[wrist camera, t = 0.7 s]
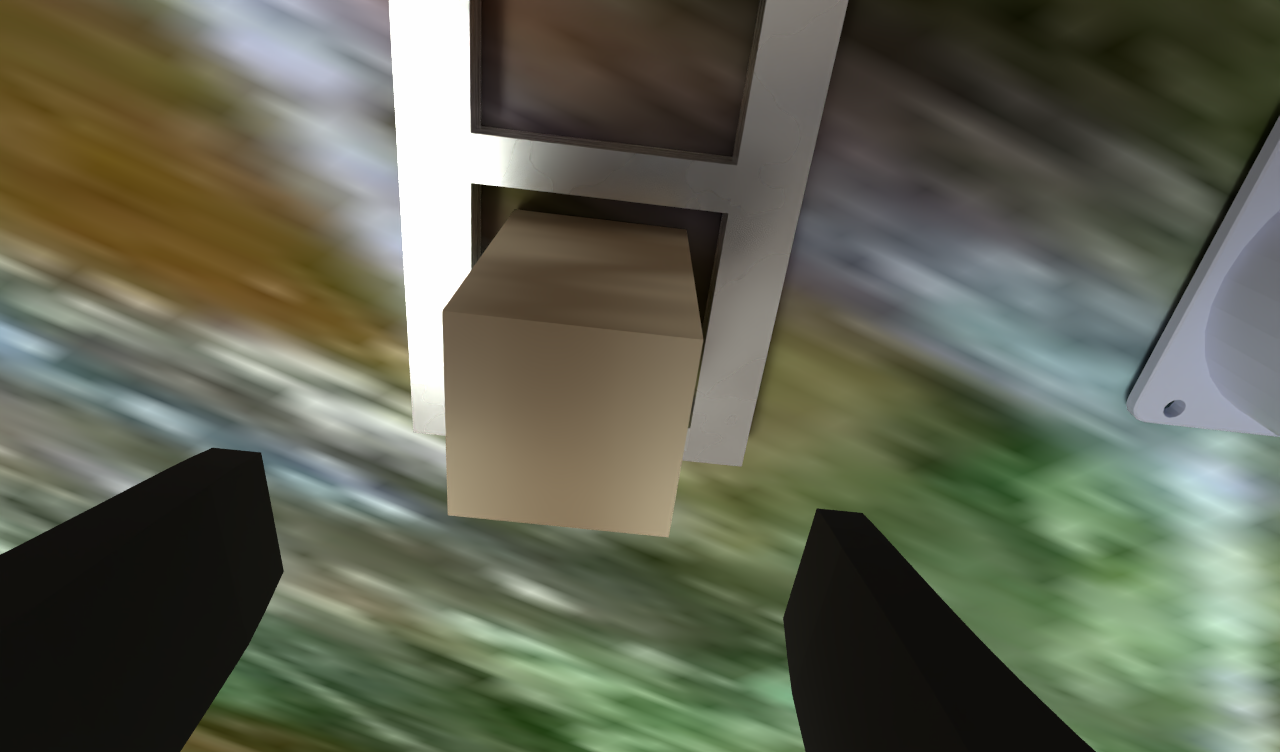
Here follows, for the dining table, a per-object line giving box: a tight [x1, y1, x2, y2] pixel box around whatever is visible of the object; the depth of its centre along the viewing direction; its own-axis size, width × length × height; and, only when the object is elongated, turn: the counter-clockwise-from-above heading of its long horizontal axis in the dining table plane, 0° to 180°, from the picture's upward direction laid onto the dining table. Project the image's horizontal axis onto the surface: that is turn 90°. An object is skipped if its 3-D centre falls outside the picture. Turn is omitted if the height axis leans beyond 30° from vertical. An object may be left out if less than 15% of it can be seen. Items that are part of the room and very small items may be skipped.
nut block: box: [442, 209, 703, 537], centre depth 14 cm, size 4×4×6 cm
